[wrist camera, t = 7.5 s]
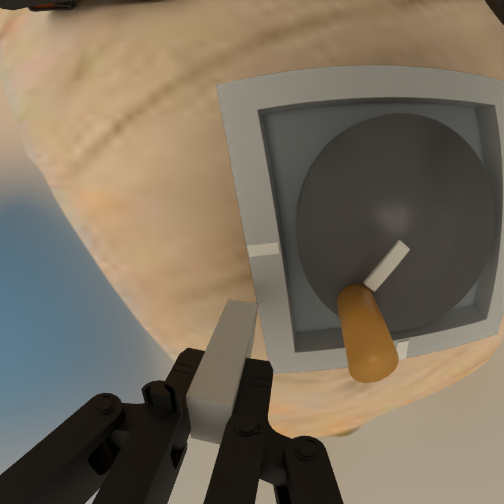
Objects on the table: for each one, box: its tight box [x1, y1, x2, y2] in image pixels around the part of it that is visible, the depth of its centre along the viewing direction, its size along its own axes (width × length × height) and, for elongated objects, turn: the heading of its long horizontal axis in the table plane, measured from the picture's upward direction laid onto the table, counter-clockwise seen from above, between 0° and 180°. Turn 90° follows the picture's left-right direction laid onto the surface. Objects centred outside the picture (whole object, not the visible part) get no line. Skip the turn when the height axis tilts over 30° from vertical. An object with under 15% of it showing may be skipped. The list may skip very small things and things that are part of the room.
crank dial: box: [296, 113, 495, 383], centre depth 13 cm, size 14×14×8 cm
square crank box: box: [216, 65, 504, 374], centre depth 17 cm, size 20×20×5 cm
